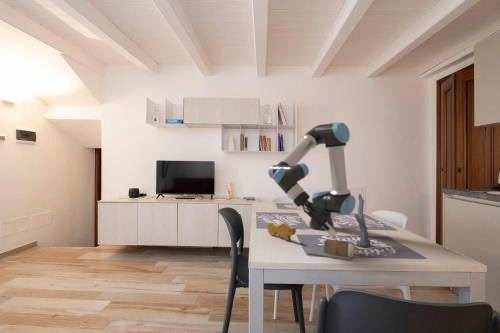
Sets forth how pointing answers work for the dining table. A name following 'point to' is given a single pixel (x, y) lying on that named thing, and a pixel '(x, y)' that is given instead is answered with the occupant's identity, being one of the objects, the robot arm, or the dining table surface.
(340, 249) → the walnut block
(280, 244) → the dining table surface
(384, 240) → the dining table surface
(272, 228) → the decorative fish
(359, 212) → the antler
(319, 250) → the charcoal rubber mat
